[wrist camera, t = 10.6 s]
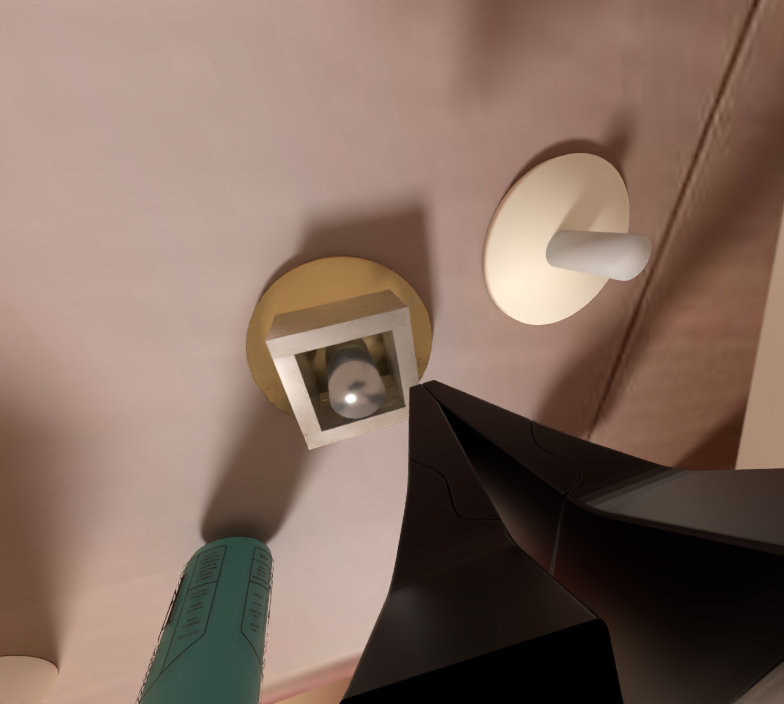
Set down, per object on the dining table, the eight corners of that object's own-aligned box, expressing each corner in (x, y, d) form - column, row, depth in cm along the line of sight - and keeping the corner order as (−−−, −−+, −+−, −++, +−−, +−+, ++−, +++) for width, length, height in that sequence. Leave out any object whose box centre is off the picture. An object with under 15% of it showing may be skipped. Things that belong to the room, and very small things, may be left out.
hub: (456, 299, 20) (508, 328, 15) (386, 432, 24) (408, 494, 18) (282, 218, 16) (268, 220, 10) (227, 399, 19) (195, 468, 14)
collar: (389, 289, 18) (408, 306, 14) (404, 382, 21) (423, 415, 18) (274, 315, 17) (265, 341, 13) (309, 409, 20) (309, 450, 17)
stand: (645, 207, 21) (752, 204, 16) (557, 339, 24) (623, 372, 19) (544, 115, 17) (646, 72, 12) (454, 290, 20) (503, 315, 15)
